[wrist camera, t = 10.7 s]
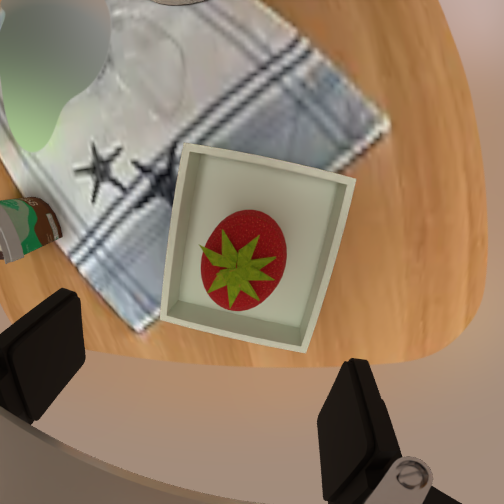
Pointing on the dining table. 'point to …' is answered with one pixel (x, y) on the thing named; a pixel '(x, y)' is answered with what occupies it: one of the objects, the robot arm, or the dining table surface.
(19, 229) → the food container
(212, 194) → the serving tray
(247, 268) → the strawberry
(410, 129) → the dining table surface
